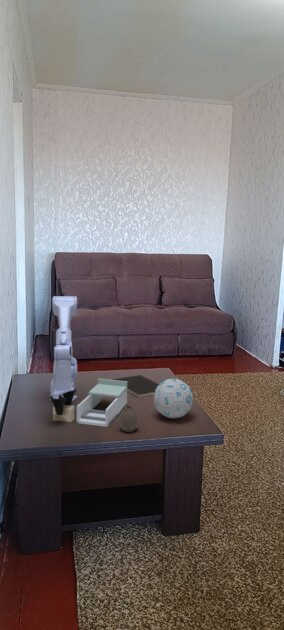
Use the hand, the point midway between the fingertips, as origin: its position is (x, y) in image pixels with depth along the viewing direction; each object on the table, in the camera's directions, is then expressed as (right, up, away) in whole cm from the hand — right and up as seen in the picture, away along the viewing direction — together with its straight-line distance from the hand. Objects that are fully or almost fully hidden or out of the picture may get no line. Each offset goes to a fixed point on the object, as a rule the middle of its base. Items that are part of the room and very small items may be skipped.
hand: (63, 411), depth 175 cm
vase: (+25, -5, -7) cm, 26 cm away
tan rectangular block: (0, -3, +1) cm, 3 cm away
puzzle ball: (+41, -4, +6) cm, 42 cm away
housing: (+14, -2, +8) cm, 17 cm away
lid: (+16, +5, +13) cm, 21 cm away
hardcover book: (+28, +2, +39) cm, 49 cm away
